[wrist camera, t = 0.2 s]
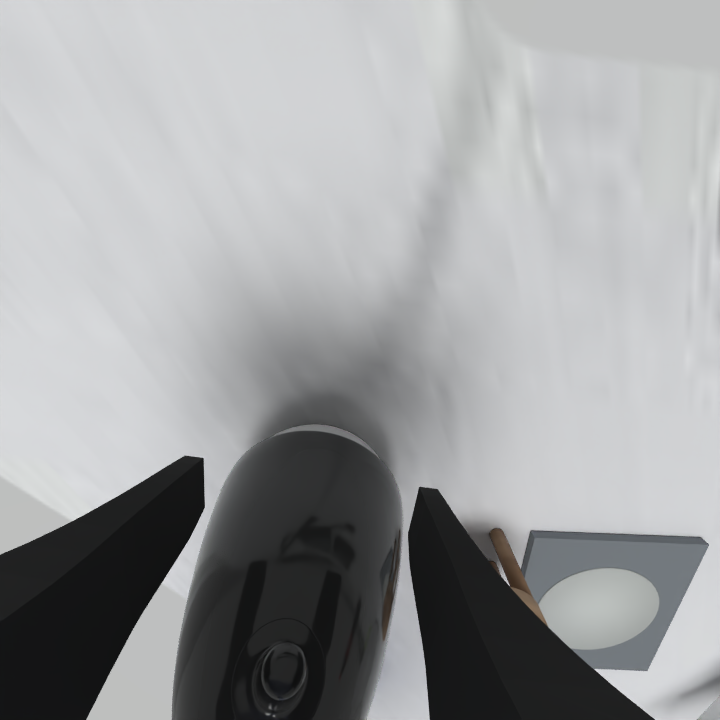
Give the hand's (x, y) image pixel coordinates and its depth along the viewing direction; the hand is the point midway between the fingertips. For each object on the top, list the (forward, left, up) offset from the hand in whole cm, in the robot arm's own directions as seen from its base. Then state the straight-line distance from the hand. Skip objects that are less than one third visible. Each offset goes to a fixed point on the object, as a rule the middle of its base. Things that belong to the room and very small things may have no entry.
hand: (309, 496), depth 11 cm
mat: (-18, -20, -10) cm, 29 cm away
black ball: (-6, +1, -10) cm, 12 cm away
